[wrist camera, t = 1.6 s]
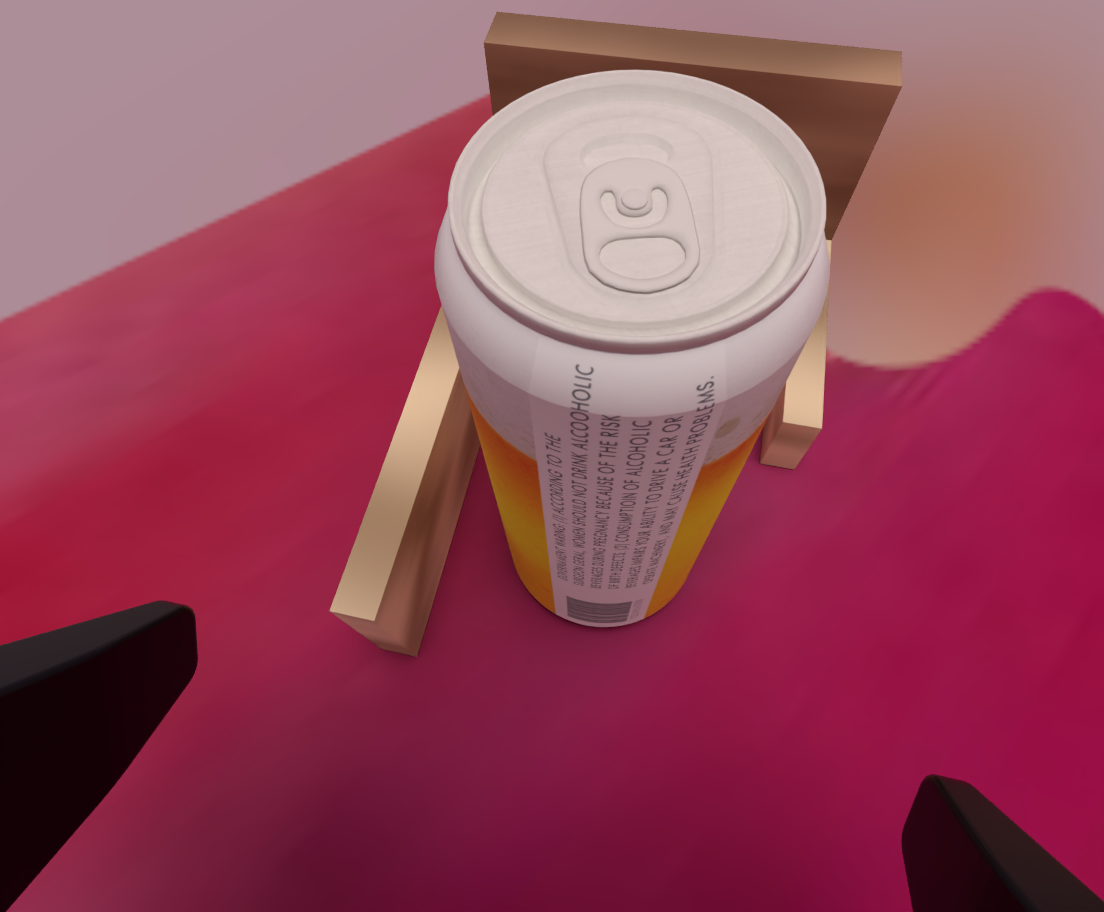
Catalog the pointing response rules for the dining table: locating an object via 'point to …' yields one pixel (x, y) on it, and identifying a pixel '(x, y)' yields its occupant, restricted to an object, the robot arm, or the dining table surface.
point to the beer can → (626, 320)
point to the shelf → (438, 390)
